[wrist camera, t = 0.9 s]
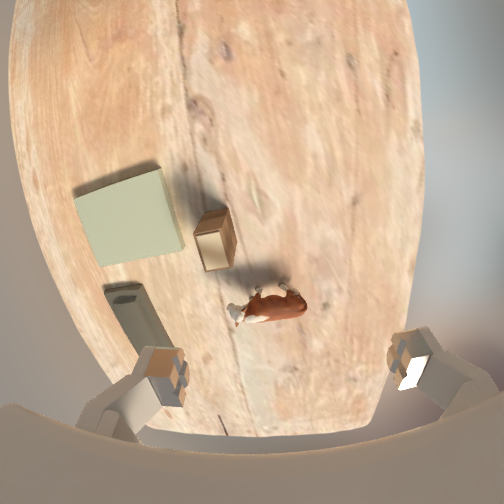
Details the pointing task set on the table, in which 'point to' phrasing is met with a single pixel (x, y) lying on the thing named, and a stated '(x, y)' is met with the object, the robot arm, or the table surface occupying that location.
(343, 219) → the table surface
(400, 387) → the robot arm
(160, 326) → the soap mold
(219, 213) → the block
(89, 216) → the board
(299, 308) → the bull figurine
